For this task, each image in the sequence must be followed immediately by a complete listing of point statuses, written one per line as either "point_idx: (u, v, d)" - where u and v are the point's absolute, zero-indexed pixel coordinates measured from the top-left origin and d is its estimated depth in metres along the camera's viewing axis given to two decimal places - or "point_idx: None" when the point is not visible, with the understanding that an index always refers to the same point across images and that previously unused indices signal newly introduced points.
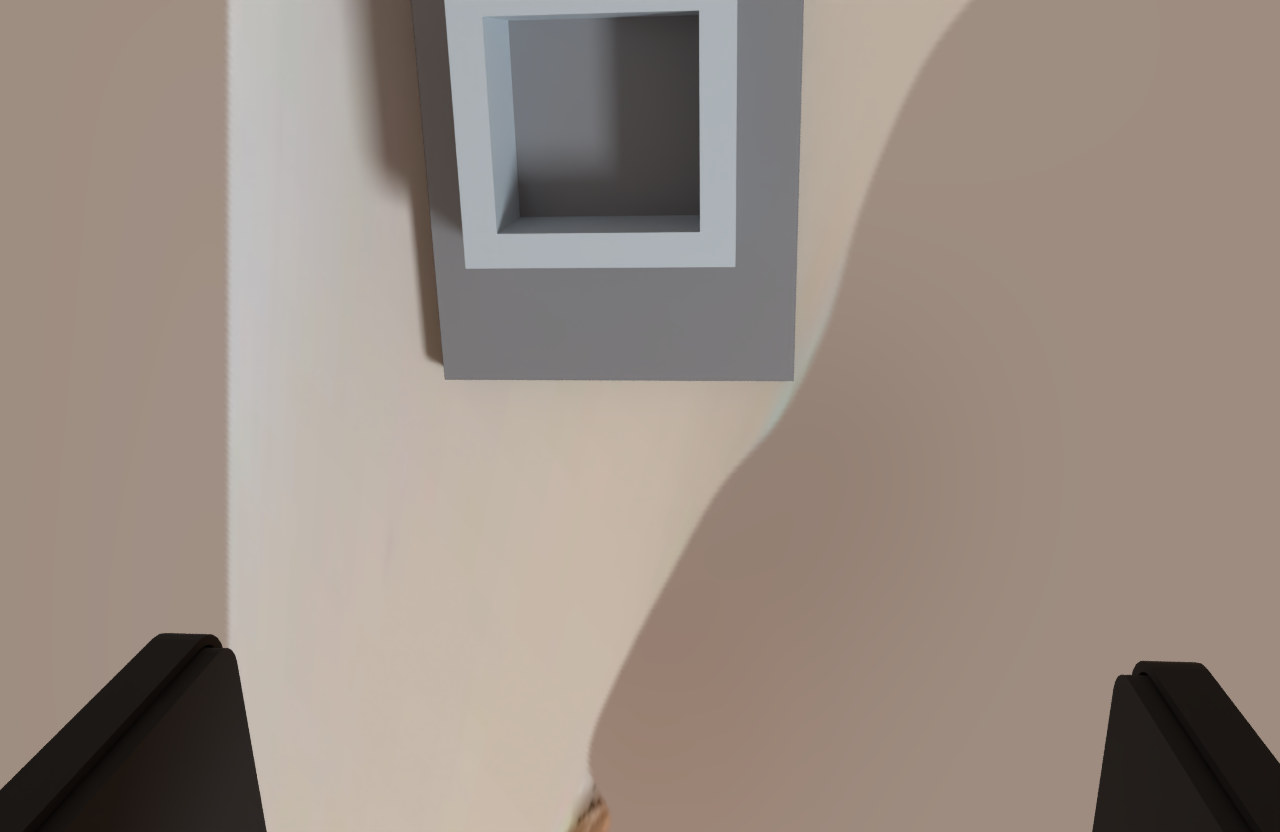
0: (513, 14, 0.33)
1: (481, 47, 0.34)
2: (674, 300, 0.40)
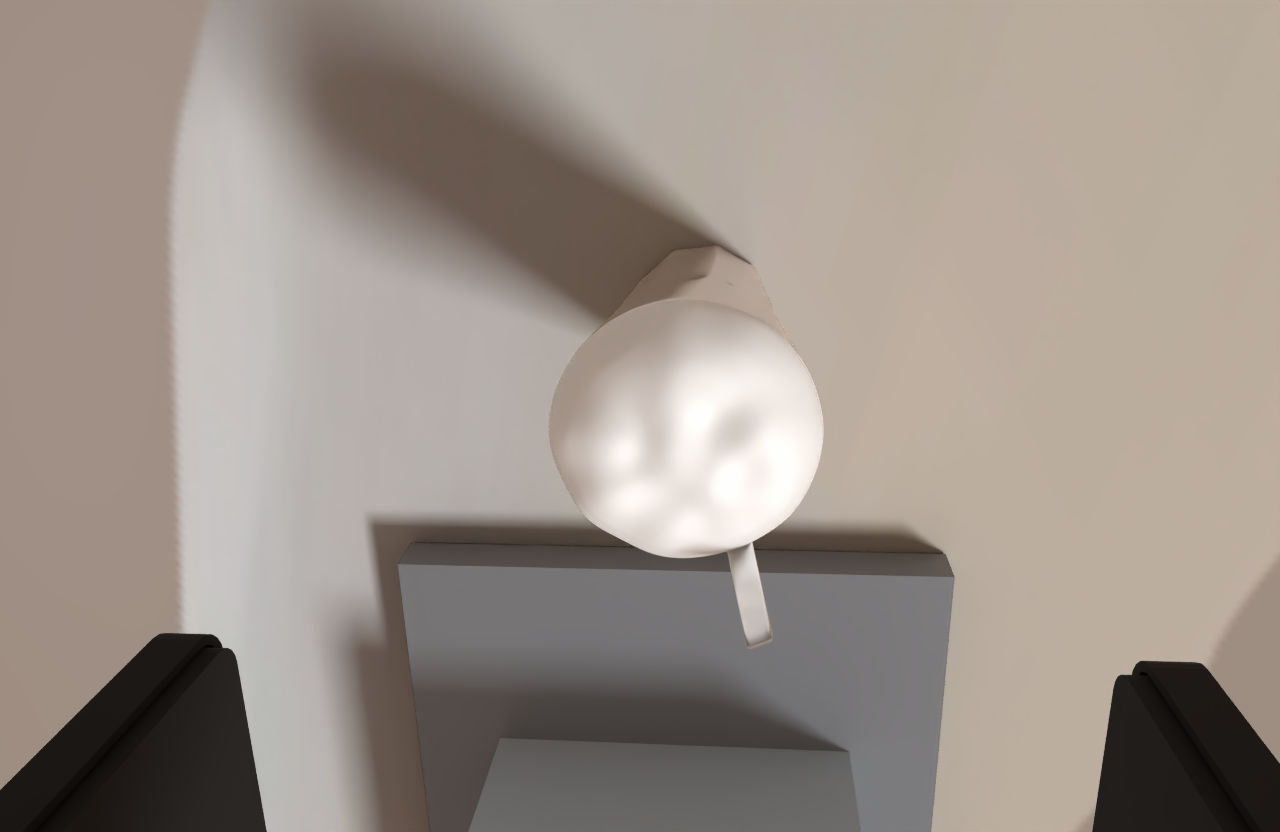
0: None
1: None
2: None
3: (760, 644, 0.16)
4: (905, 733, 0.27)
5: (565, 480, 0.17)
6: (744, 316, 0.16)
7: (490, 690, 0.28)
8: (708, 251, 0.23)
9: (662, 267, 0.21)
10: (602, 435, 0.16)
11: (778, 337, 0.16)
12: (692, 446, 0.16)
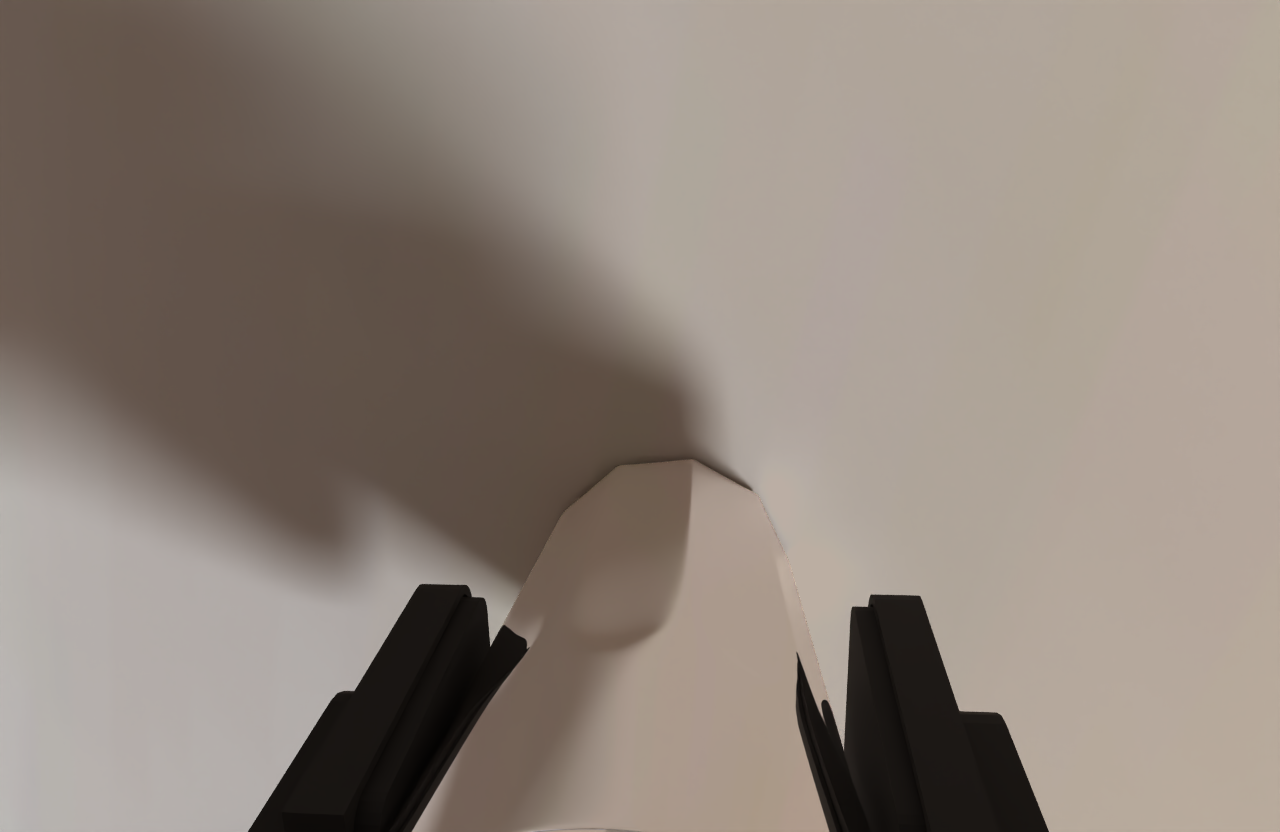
0: None
1: None
2: None
3: None
4: None
5: None
6: None
7: None
8: (676, 483, 0.13)
9: (585, 547, 0.11)
10: None
11: None
12: None
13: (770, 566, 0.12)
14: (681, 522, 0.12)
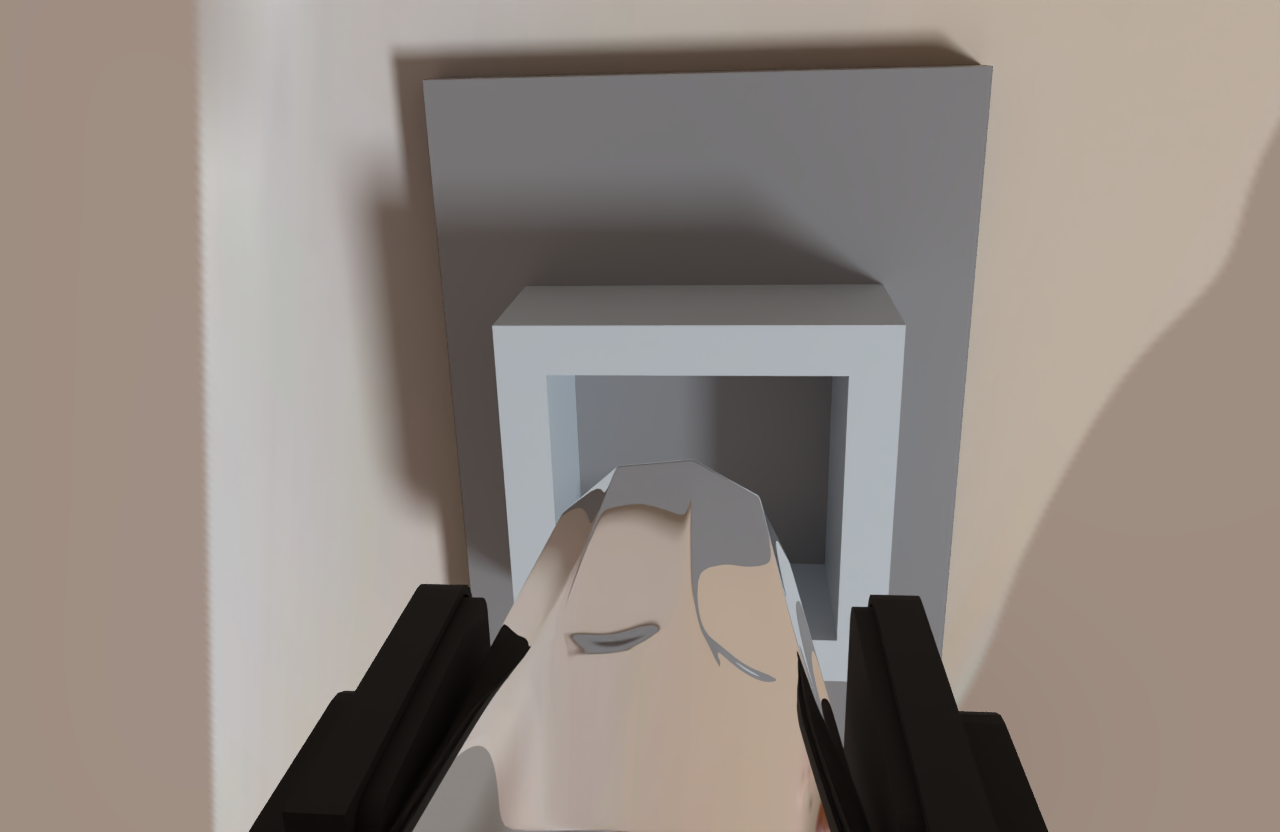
0: (589, 374, 0.24)
1: (544, 413, 0.25)
2: None
3: None
4: (940, 258, 0.26)
5: None
6: None
7: (516, 228, 0.27)
8: (676, 483, 0.13)
9: (585, 547, 0.11)
10: None
11: None
12: None
13: (770, 566, 0.12)
14: (681, 522, 0.12)
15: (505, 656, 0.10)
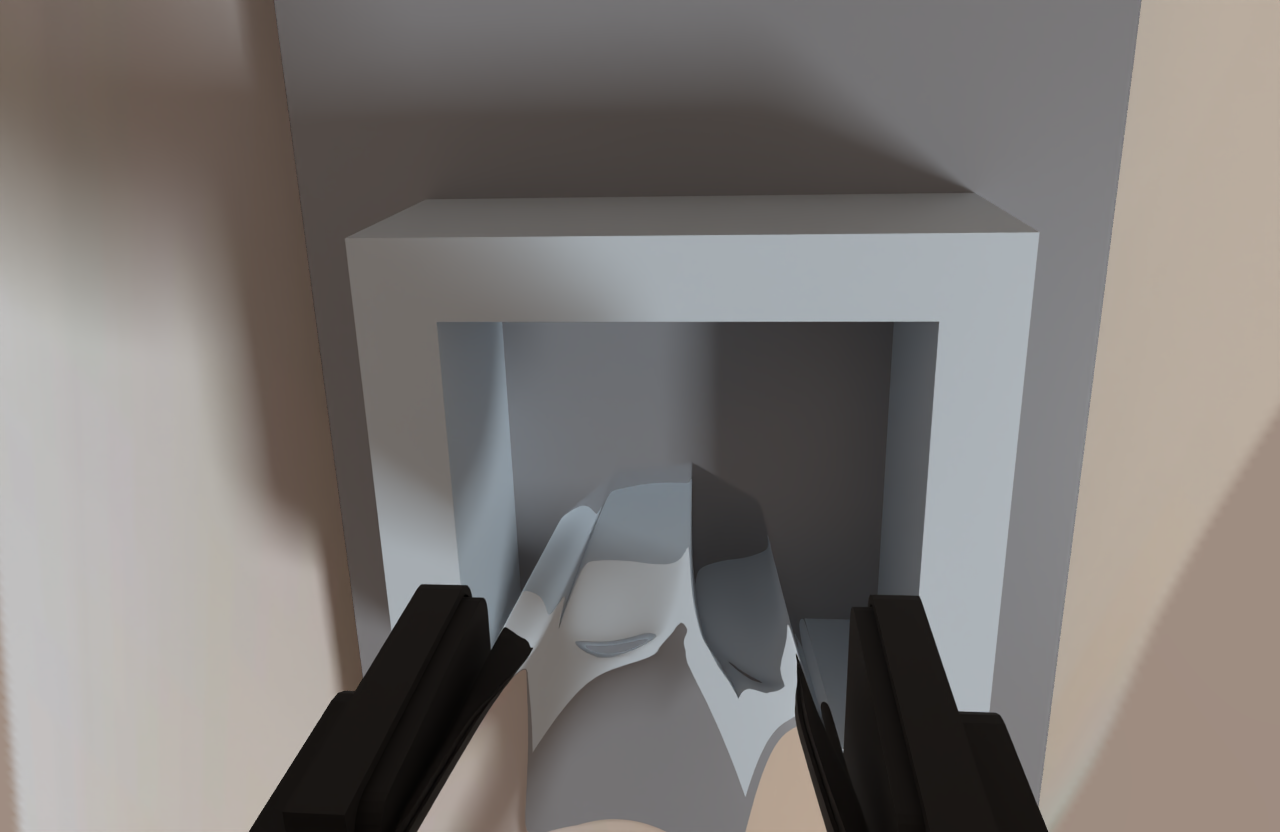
0: (507, 319, 0.15)
1: (436, 385, 0.15)
2: None
3: None
4: (1066, 150, 0.17)
5: None
6: None
7: (409, 108, 0.18)
8: (676, 487, 0.13)
9: (585, 552, 0.11)
10: None
11: None
12: None
13: (770, 571, 0.12)
14: (681, 527, 0.12)
15: (505, 661, 0.10)
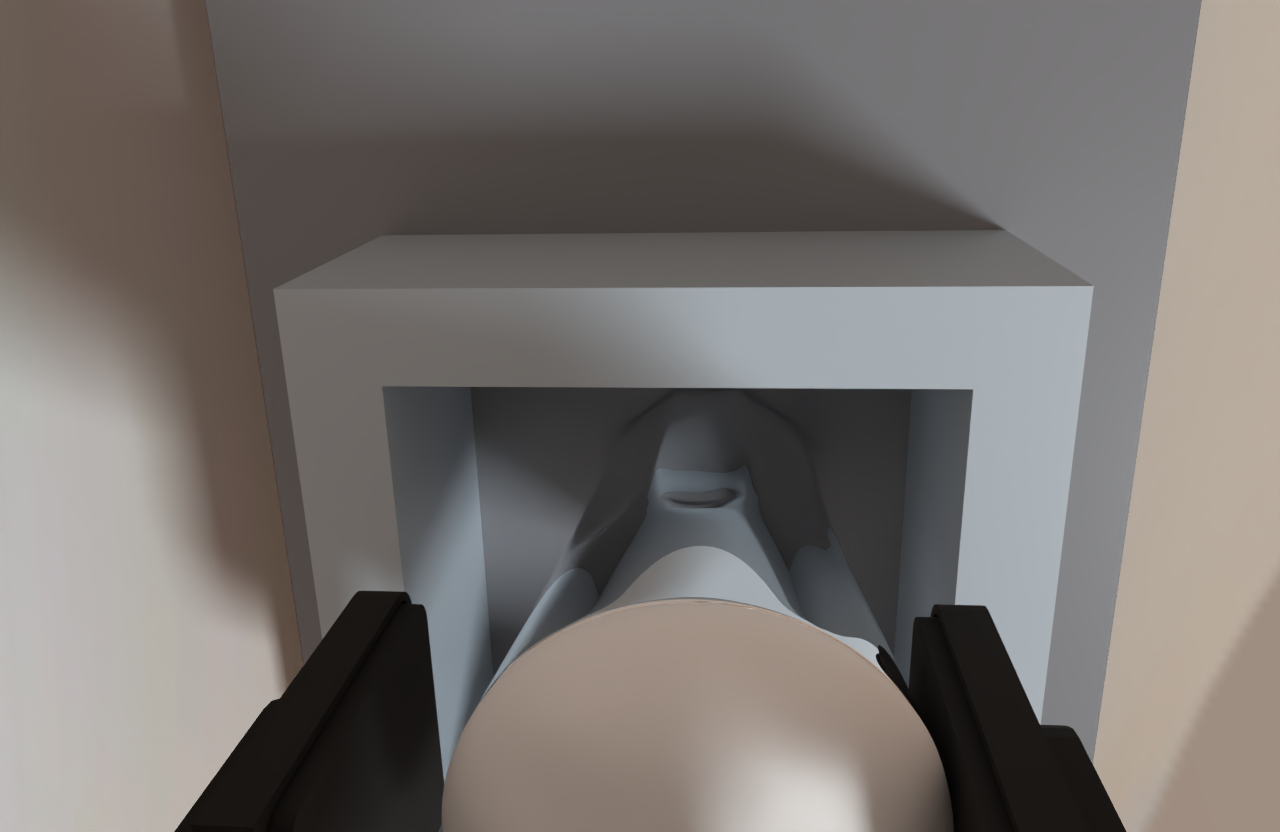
0: (464, 384, 0.12)
1: (382, 458, 0.13)
2: None
3: None
4: (1111, 182, 0.15)
5: None
6: (829, 654, 0.08)
7: (362, 132, 0.16)
8: (728, 406, 0.15)
9: (660, 444, 0.14)
10: None
11: (890, 695, 0.09)
12: None
13: (808, 473, 0.14)
14: (737, 432, 0.14)
15: (600, 518, 0.12)
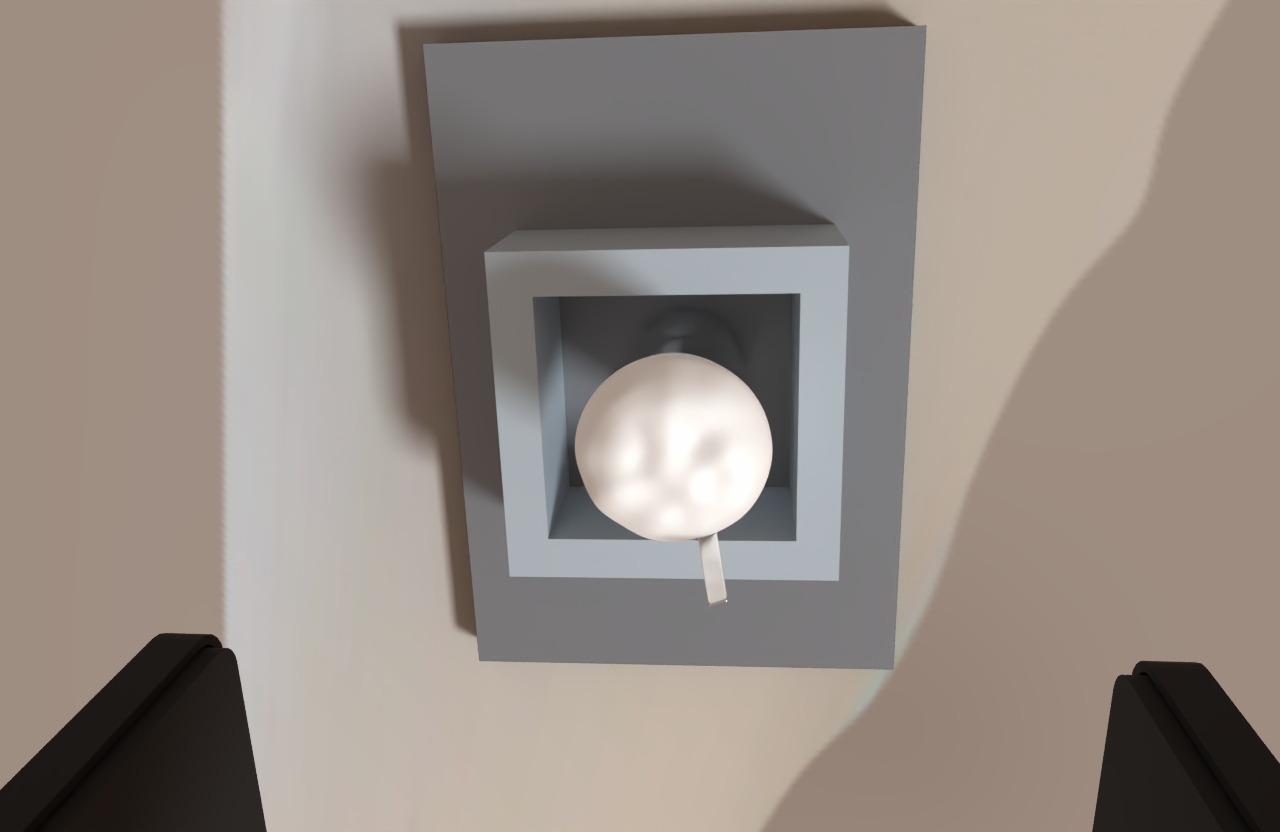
0: (571, 295, 0.27)
1: (531, 331, 0.28)
2: (752, 579, 0.34)
3: (718, 602, 0.23)
4: (885, 199, 0.30)
5: (584, 479, 0.24)
6: (720, 369, 0.23)
7: (507, 177, 0.30)
8: (695, 314, 0.30)
9: (660, 325, 0.28)
10: (614, 447, 0.23)
11: (743, 385, 0.23)
12: (678, 458, 0.23)
13: (733, 342, 0.29)
14: (698, 321, 0.29)
15: (633, 352, 0.27)
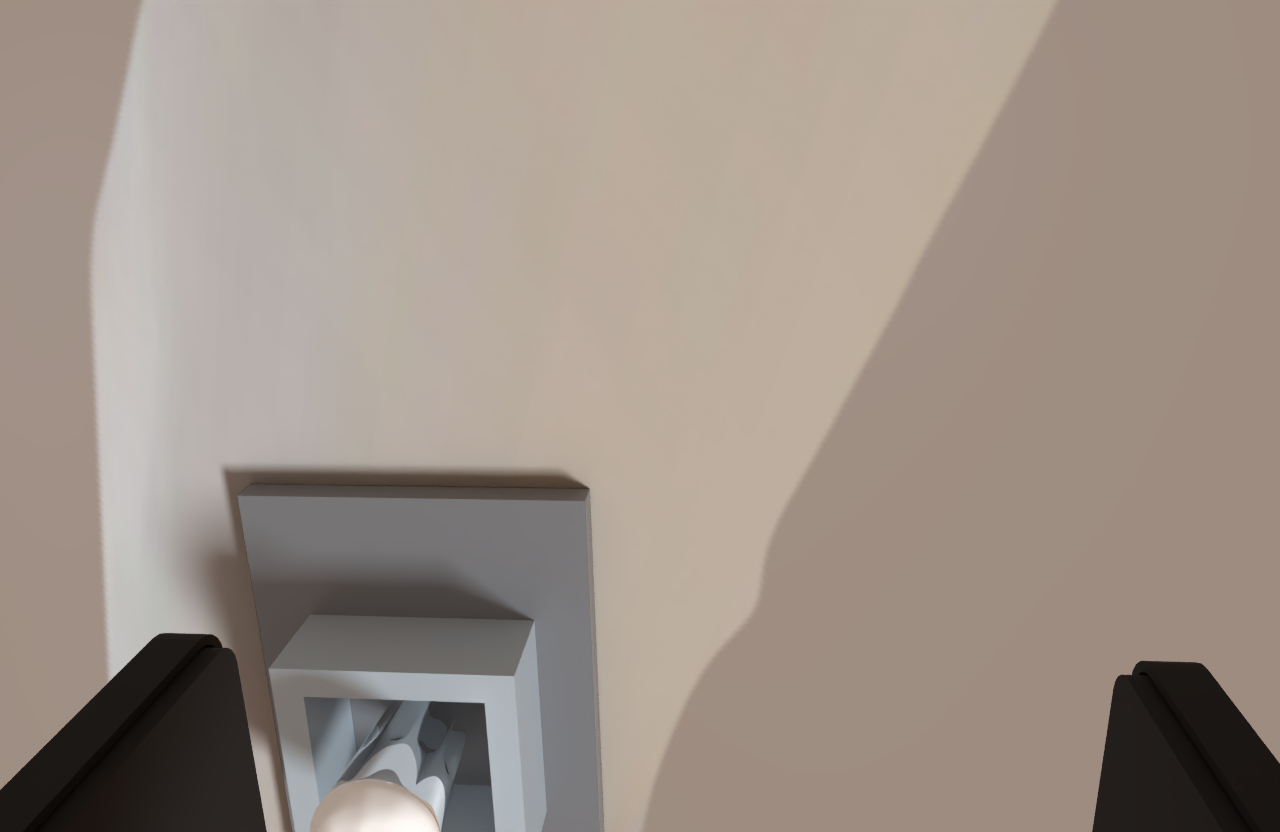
0: (329, 697, 0.39)
1: (304, 717, 0.40)
2: None
3: None
4: (568, 606, 0.41)
5: None
6: (399, 794, 0.35)
7: (301, 581, 0.42)
8: None
9: (399, 706, 0.40)
10: None
11: (415, 804, 0.35)
12: None
13: (453, 714, 0.41)
14: None
15: (371, 738, 0.39)
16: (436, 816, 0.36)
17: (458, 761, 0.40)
